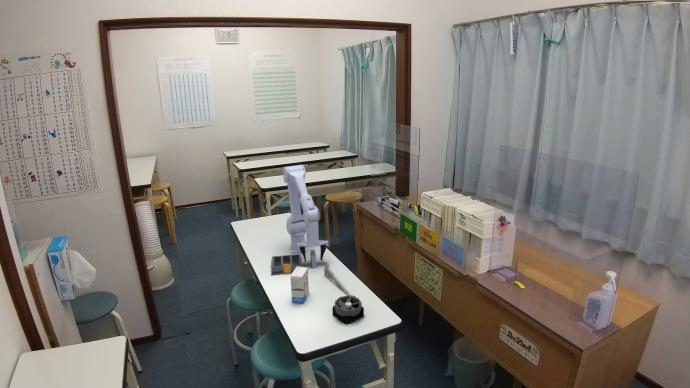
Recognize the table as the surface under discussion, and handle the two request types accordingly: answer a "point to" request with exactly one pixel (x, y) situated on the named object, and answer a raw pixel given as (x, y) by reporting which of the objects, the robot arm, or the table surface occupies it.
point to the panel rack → (285, 264)
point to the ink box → (299, 284)
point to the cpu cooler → (348, 309)
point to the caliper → (334, 278)
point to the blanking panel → (313, 258)
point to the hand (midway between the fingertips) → (313, 260)
